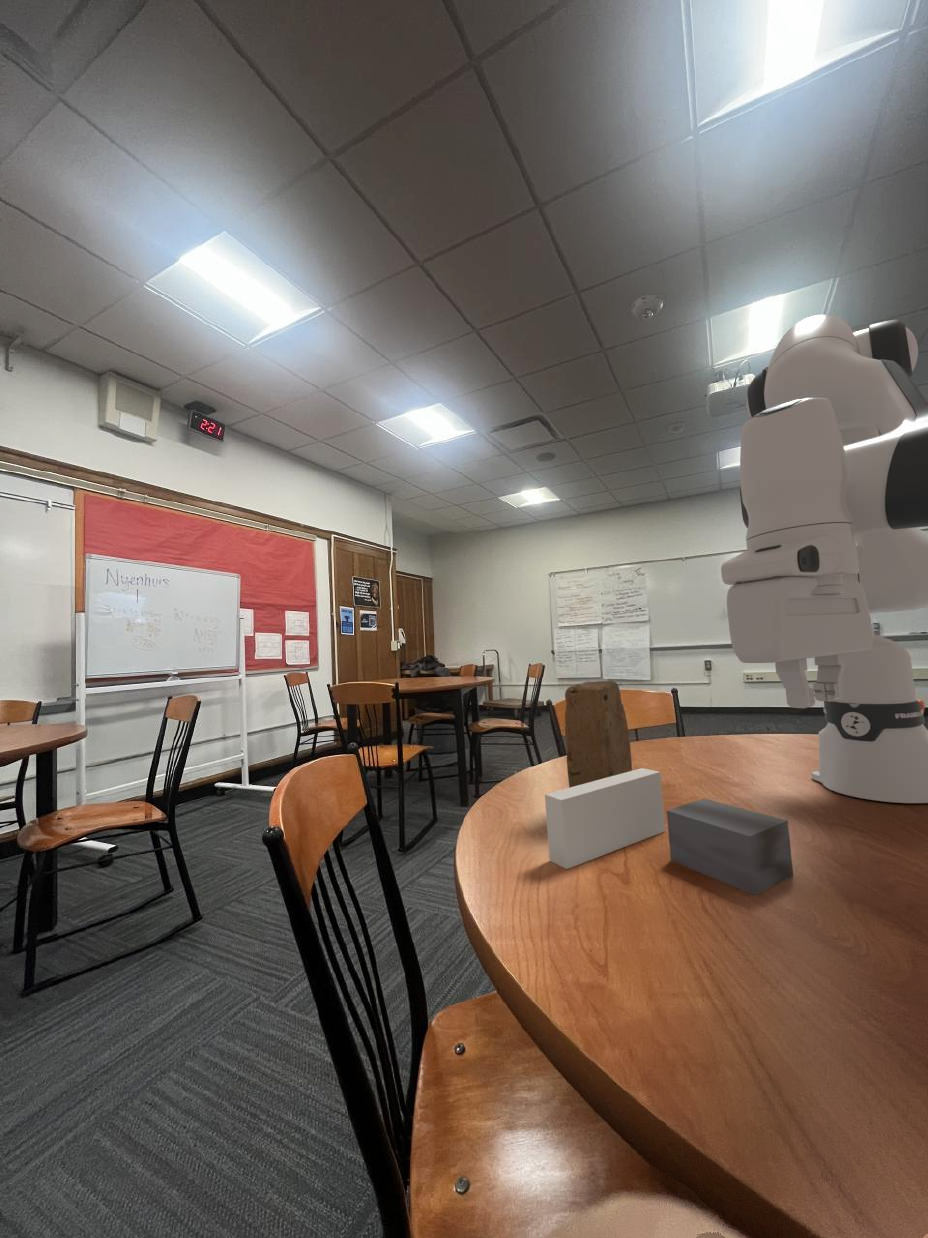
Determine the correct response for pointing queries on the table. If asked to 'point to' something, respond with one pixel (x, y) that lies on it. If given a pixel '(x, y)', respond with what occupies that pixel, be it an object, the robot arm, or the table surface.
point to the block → (595, 732)
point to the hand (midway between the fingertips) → (815, 704)
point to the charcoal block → (731, 844)
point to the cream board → (603, 816)
